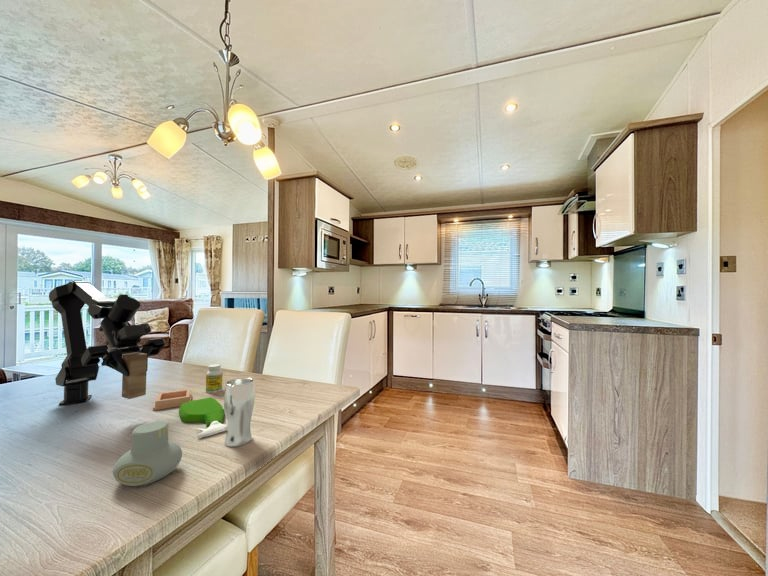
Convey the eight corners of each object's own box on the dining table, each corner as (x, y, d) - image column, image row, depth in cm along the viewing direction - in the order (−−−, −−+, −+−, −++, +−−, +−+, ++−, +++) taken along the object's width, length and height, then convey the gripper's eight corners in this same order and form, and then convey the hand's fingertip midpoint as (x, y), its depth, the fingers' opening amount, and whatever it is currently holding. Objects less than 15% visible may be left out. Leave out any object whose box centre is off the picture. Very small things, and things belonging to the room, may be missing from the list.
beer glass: (230, 434, 78) (231, 377, 78) (257, 434, 79) (258, 377, 79) (217, 448, 71) (219, 385, 72) (247, 447, 72) (249, 385, 72)
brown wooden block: (121, 396, 85) (123, 354, 86) (137, 392, 89) (139, 352, 89) (129, 399, 84) (131, 356, 84) (145, 394, 87) (147, 353, 88)
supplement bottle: (221, 387, 116) (222, 363, 116) (222, 391, 111) (223, 366, 112) (205, 390, 113) (206, 364, 113) (206, 394, 108) (206, 367, 109)
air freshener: (188, 463, 65) (190, 417, 65) (165, 488, 57) (167, 435, 57) (134, 466, 64) (135, 419, 64) (102, 491, 55) (104, 437, 56)
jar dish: (156, 400, 102) (157, 392, 102) (191, 395, 107) (192, 388, 107) (152, 410, 93) (153, 402, 93) (190, 404, 98) (191, 397, 98)
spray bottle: (215, 404, 100) (237, 431, 82) (176, 412, 92) (191, 444, 74) (215, 395, 100) (238, 420, 82) (176, 403, 93) (191, 432, 74)
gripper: (87, 316, 80) (108, 362, 75) (163, 313, 97) (183, 350, 92) (72, 343, 83) (91, 389, 78) (148, 335, 100) (167, 372, 95)
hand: (137, 373), depth 86 cm, fingers closed on brown wooden block, 4 cm apart
